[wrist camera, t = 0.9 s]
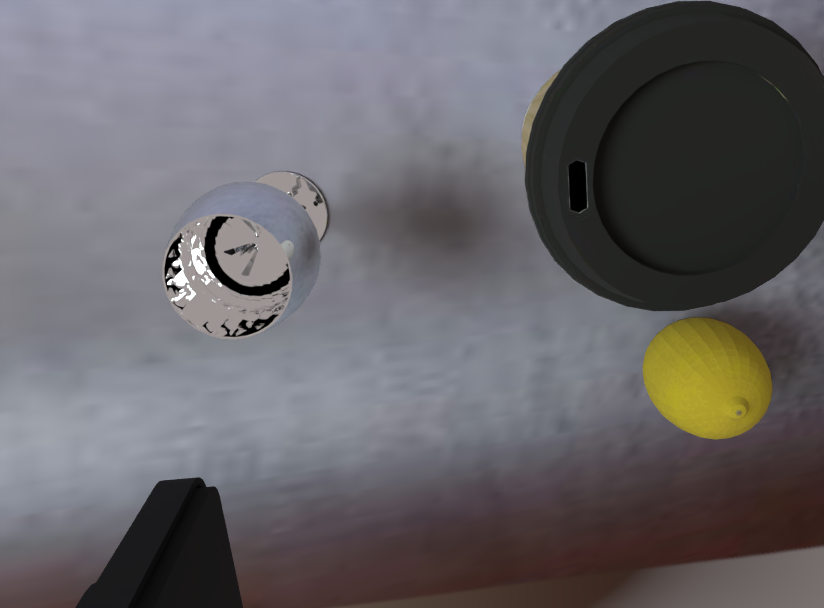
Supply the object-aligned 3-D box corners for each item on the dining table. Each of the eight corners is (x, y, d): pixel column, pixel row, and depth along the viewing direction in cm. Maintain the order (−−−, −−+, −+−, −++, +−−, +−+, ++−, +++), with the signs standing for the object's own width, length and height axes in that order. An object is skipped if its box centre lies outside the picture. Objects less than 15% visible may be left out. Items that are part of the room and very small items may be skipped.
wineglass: (355, 181, 36) (330, 231, 25) (320, 283, 38) (281, 374, 26) (246, 141, 36) (168, 172, 24) (215, 246, 37) (128, 323, 26)
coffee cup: (683, 219, 37) (854, 310, 23) (492, 240, 37) (543, 344, 23) (683, 15, 34) (881, -28, 20) (476, 40, 34) (523, 16, 20)
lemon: (604, 342, 39) (651, 408, 31) (688, 277, 38) (757, 329, 30) (663, 411, 40) (722, 490, 33) (746, 350, 39) (827, 417, 31)
